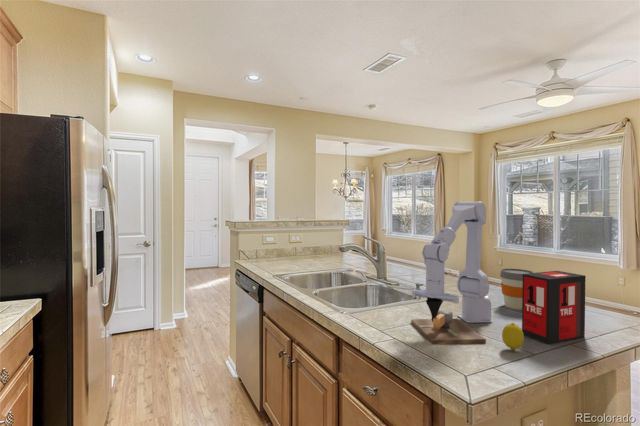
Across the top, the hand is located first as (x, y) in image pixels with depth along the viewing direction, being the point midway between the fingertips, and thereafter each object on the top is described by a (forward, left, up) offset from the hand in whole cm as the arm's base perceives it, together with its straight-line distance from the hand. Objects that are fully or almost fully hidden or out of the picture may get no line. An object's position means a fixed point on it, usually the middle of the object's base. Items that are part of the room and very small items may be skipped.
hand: (434, 321), depth 110 cm
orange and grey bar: (-3, -1, -1) cm, 3 cm away
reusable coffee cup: (-47, -29, -5) cm, 56 cm away
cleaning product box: (-38, +3, -5) cm, 39 cm away
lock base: (-5, -2, -4) cm, 7 cm away
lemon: (-18, +13, -5) cm, 23 cm away
